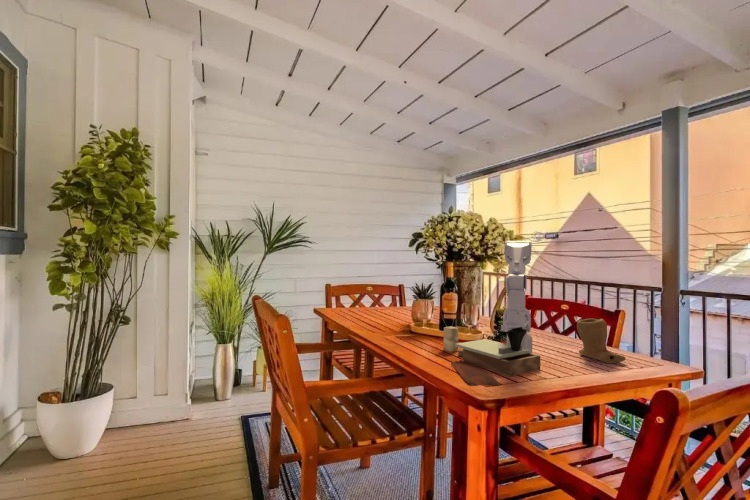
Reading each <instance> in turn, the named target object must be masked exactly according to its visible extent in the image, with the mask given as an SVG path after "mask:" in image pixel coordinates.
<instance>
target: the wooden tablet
mask: <svg viewBox="0 0 750 500" xmlns="http://www.w3.org/2000/svg"><path fill="white" fill-rule="evenodd" d="M450 365H451V367H453V368H454V370H455V371H456V372H457V373H458V374H459V376H461V378H462V379H463V381H464V382H465V383H466V384H467V385H468V386H477V387H478V386H481V385H482V386H487V387H488V386H491V387H496V386H500V382H499V381H498V380H497V379H496V378H495V377H494V376H493V375H491V374H490V373H489V372H488V371H486V369H484V368H481V367H480V366H478V365H475V364H472V363H469V362H464V361H463V360H460V361H451V362H450Z"/></svg>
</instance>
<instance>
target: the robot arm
mask: <svg viewBox="0 0 750 500" xmlns="http://www.w3.org/2000/svg"><path fill="white" fill-rule="evenodd" d="M503 249H504V260H505V263H507V264H508V268H507V269H508V270H507V275H506V276H505V289H506V296H507V297H506V308H505V309H504V311H503V317H502V318H503V319H502V324H501V325H500V331H501V332H505V333H506V344H508V345H511V349H512V350H513V351H519V350H520V346H522V348H524V349H528V350H530V353H532V354H533V337H532V335H531V334H530V332H531V330H532V329H531V325H532V323H531V322H532V318H531V312H530V310H528V309H527V308H526V292H527V288H528V287H527V286H528V283H527V282H528V278H527V274H526V273H527V272H526V271H527V270H526V266H527V265H529V264H530V263H531V260H532V241H531V240H505V241H504V248H503Z"/></svg>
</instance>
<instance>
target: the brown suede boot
mask: <svg viewBox="0 0 750 500" xmlns="http://www.w3.org/2000/svg"><path fill="white" fill-rule="evenodd" d="M576 329H577V332H578V334H579V337H580V339H581V342H582V345H583V346H582V347H583V348H582V349H580V350H578V354H580V355H582V356H585V357H588V358H591V359H593V360H597V361H600V362H603V363H606V364H618V363H622V362H625V361H626V359H627V358H626V357H625V356H623V355H621V354H617V353H614V352H612V351H609V350H608V349H607V340H608V339H607V338H608V326H607V322H606V321H605V319H603V318H599V319H597V318H585V319H579V320H578V321H577V322H576Z"/></svg>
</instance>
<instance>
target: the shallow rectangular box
mask: <svg viewBox="0 0 750 500" xmlns="http://www.w3.org/2000/svg"><path fill="white" fill-rule="evenodd" d="M457 356H458V357H462V361H464V362H469V363H472V364H475V365H478V366H480V367H481V368H482V369H484V370H488V371H490V372H493V373H497V374H500V375H503V376H507V377H514V376H517V375H521V374H522V375H523V374H526V373H529V372H534V371H537V370H538V371H539V370H541V355H539V354H535V353H533V352H532V353H527V354H522V355H517V356H512V357H507V358H502V359H497V358H494V357H490V356H487V355H483V354H480V353H476V352H473V351H469V350H466V349H462V348H461V349H458V351H457Z"/></svg>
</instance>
